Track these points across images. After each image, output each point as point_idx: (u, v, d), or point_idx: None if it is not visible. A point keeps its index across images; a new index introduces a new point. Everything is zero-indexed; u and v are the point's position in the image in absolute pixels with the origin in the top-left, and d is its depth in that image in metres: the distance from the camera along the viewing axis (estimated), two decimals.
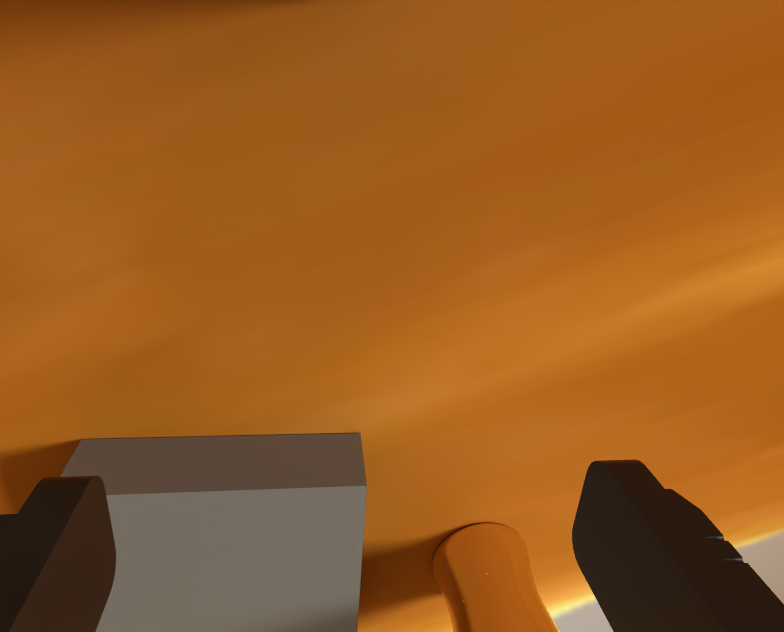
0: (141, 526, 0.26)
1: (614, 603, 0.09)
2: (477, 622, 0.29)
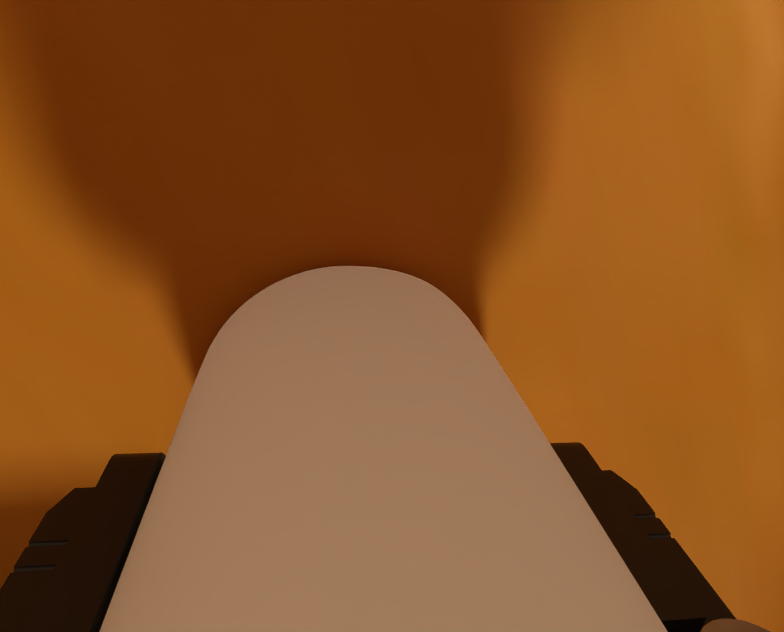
0: None
1: None
2: None
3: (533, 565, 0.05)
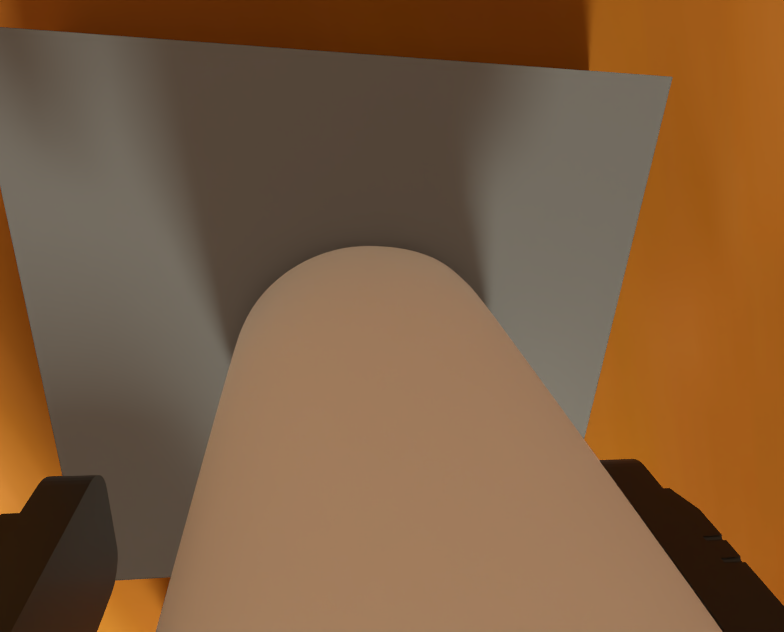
0: (555, 238, 0.13)
1: None
2: None
3: (533, 455, 0.06)
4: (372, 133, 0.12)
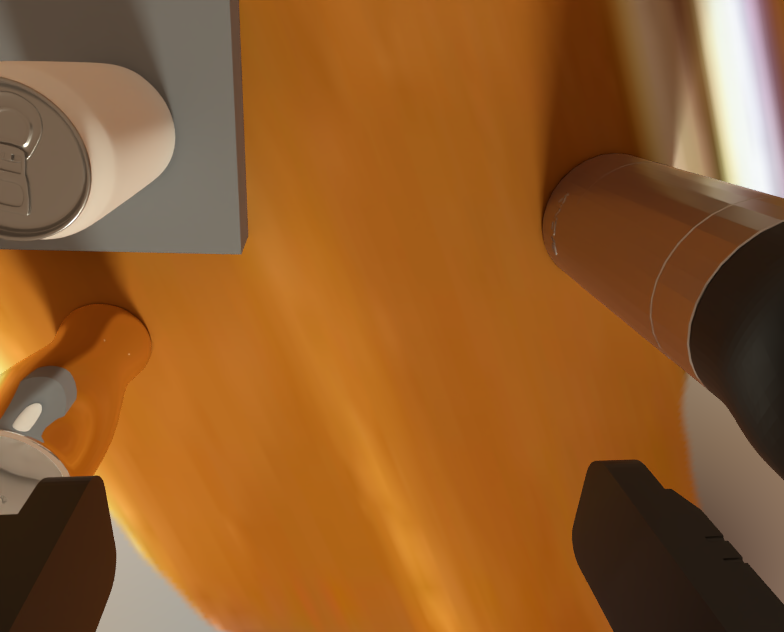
0: (193, 65, 0.29)
1: (614, 603, 0.09)
2: (104, 357, 0.34)
3: (67, 67, 0.22)
4: (96, 12, 0.28)
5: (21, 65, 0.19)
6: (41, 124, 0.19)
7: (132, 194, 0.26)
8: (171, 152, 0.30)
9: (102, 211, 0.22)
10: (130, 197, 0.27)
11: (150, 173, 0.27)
